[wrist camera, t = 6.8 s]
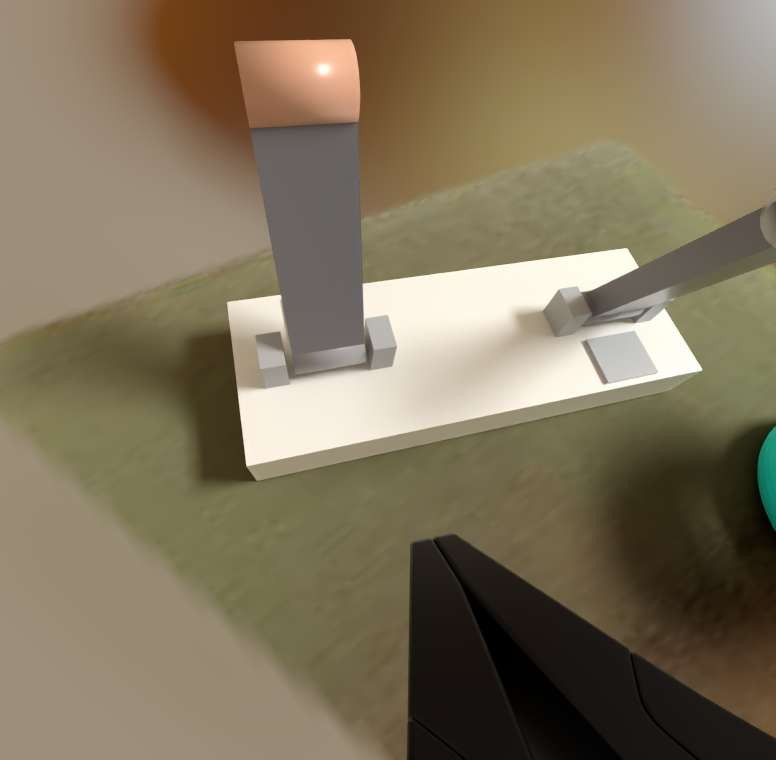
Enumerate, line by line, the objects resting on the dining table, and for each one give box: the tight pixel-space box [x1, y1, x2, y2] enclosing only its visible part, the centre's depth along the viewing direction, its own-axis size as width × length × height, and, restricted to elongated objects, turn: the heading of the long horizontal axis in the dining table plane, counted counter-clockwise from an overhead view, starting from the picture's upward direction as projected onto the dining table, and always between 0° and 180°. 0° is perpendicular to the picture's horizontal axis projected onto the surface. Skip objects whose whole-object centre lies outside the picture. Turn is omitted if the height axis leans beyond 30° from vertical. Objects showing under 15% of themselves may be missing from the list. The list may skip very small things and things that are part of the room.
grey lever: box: [581, 189, 776, 325], centre depth 17 cm, size 2×3×11 cm, turn 104°
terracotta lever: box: [234, 39, 366, 375], centre depth 15 cm, size 2×3×11 cm, turn 105°
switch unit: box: [227, 248, 702, 481], centre depth 21 cm, size 8×22×4 cm, turn 104°
